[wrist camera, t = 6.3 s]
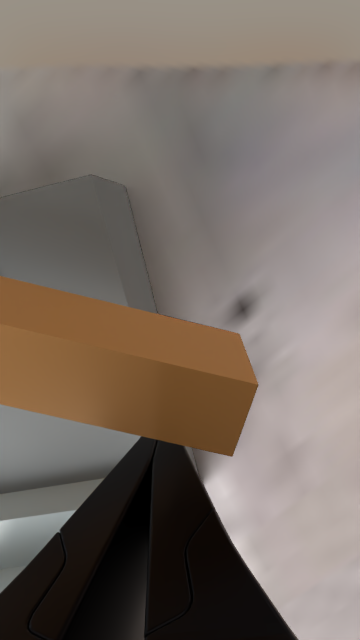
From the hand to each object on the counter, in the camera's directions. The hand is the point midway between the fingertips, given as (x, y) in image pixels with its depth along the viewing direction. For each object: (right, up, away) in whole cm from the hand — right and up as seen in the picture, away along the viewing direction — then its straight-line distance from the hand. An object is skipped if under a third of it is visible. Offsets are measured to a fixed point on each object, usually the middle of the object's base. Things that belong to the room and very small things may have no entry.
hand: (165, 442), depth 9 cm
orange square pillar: (-3, +4, +1) cm, 5 cm away
